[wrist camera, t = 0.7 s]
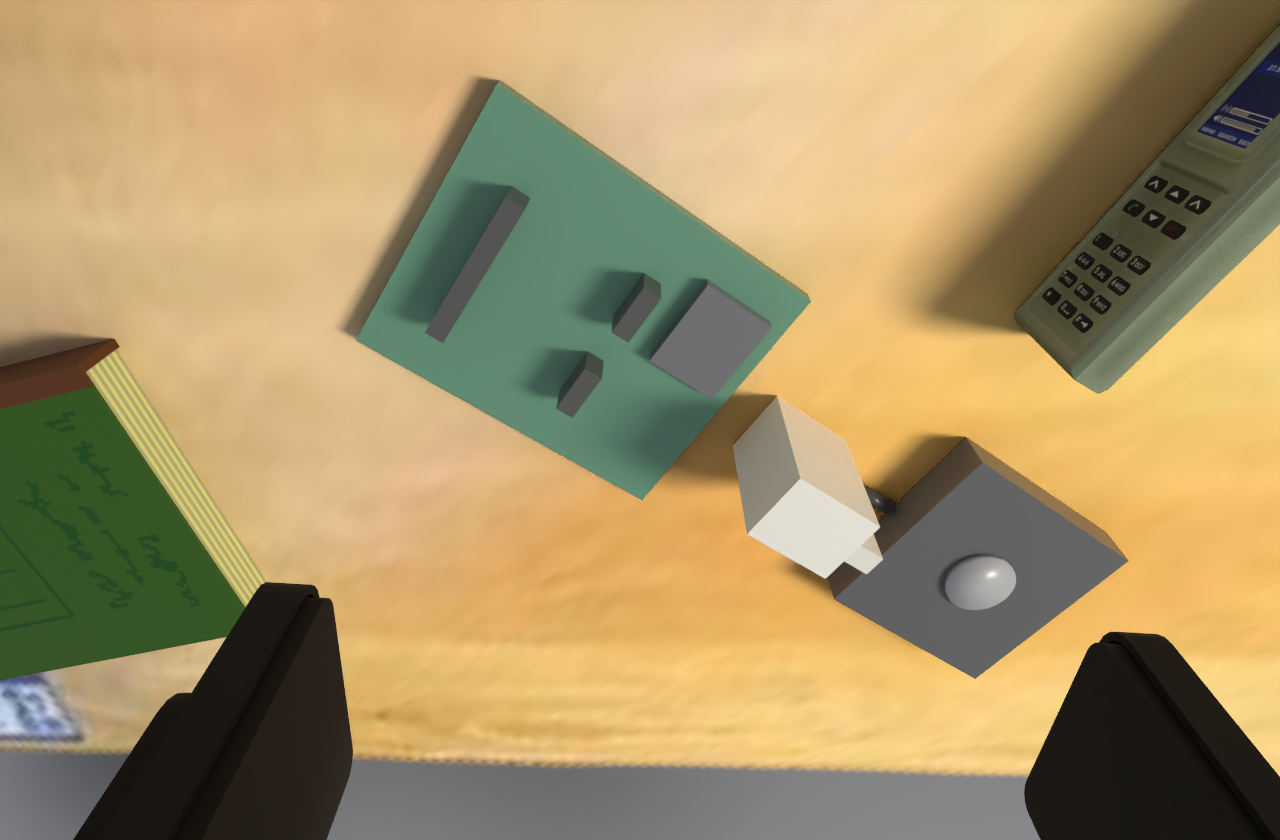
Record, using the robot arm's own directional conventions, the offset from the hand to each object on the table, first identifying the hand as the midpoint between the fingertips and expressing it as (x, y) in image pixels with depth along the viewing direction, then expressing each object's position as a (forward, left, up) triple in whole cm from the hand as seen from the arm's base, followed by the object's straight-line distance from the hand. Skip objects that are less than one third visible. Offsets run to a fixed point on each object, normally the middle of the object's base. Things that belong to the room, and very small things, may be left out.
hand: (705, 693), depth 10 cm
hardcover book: (+40, -20, -33) cm, 55 cm away
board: (+9, +1, -32) cm, 33 cm away
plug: (+9, +15, -32) cm, 36 cm away
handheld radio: (-16, +20, -32) cm, 41 cm away
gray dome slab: (+9, +28, -32) cm, 43 cm away
